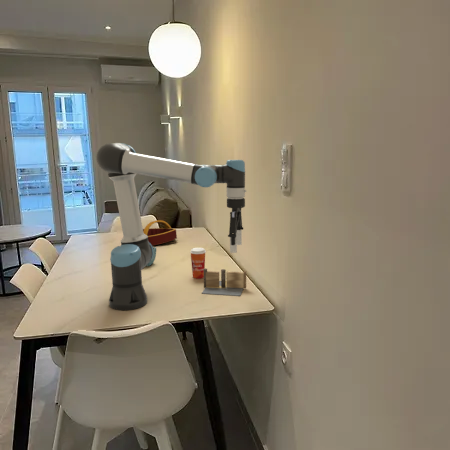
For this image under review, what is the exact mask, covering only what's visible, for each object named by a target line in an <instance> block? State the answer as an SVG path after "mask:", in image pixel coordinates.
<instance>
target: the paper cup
mask: <svg viewBox="0 0 450 450" xmlns="http://www.w3.org/2000/svg"><path fill="white" fill-rule="evenodd" d="M189 253H190V261H191V273H192V278H193V279H196V280H200V279H204V269H205V267H206V266H205V264H206V253H207V251H206V249H205V248H203V247H193V248H191V249H190V252H189Z"/></svg>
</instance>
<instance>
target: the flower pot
mask: <svg viewBox="0 0 450 450" xmlns="http://www.w3.org/2000/svg"><path fill="white" fill-rule="evenodd" d="M152 247H153V257H152V259H151V261H150V262H149V264H148V265H146V266H145V267H150V266H151V265H152V264H154V262H155V260H156V256H157V247H155V246H152Z"/></svg>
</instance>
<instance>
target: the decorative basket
mask: <svg viewBox="0 0 450 450" xmlns="http://www.w3.org/2000/svg"><path fill="white" fill-rule="evenodd" d="M156 223H157V224H161V225H162V226H164V227H165V228H163V227H158V228H155V227H154V228H153V227H152V226H153V224H156ZM151 227H152V228H151ZM143 233H144V234H145V235H147V236H148V241H149V243H150V244H151V245H152V246H156V245H161V244H166V243H169V242H172V241H174V240H177V239H178V235H177V229H176V228H172V227H171V225H170V224H169V223H168V222H166V221H164V220H163V219H158V220H157V219H156V220H153V221H150V222H149V223H147V224H146V226H145V227H144V228H143Z"/></svg>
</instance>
